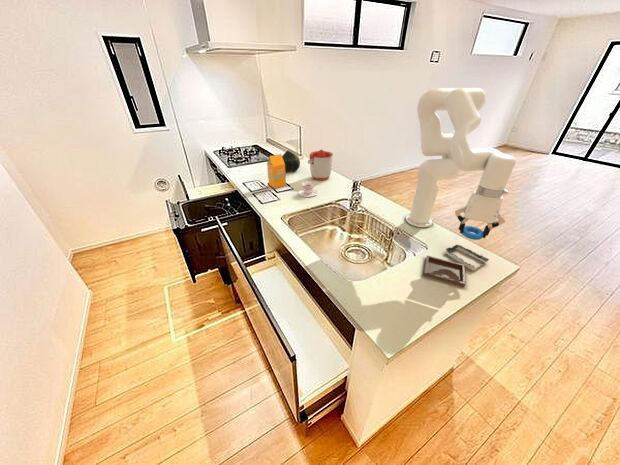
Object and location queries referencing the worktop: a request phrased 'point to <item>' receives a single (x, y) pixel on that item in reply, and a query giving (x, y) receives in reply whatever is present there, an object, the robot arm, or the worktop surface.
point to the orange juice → (276, 171)
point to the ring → (476, 236)
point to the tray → (445, 271)
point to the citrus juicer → (320, 164)
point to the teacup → (307, 190)
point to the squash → (291, 161)
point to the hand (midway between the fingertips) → (472, 233)
